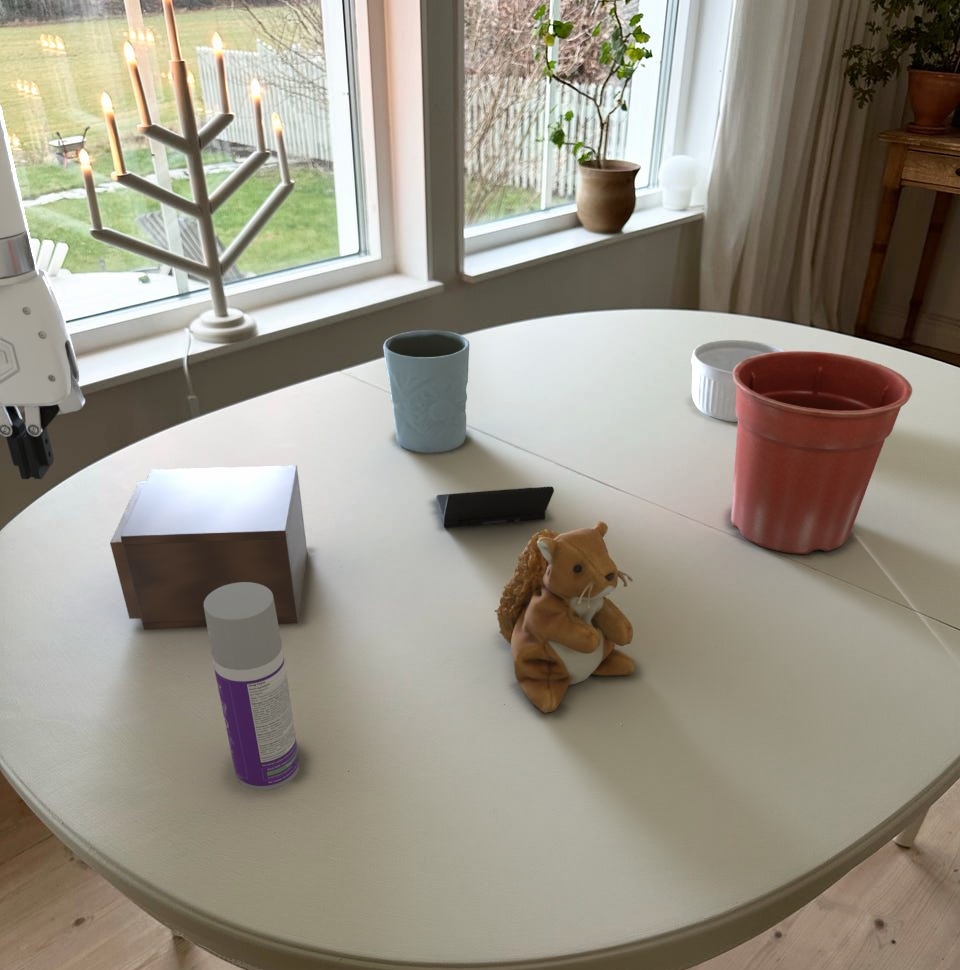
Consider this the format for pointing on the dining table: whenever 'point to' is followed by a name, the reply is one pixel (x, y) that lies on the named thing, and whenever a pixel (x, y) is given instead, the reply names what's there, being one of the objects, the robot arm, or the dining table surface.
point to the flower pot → (808, 444)
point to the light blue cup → (428, 388)
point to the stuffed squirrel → (564, 614)
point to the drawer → (121, 558)
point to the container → (252, 684)
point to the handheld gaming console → (494, 506)
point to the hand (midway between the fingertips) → (36, 472)
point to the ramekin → (721, 374)
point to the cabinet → (215, 540)
